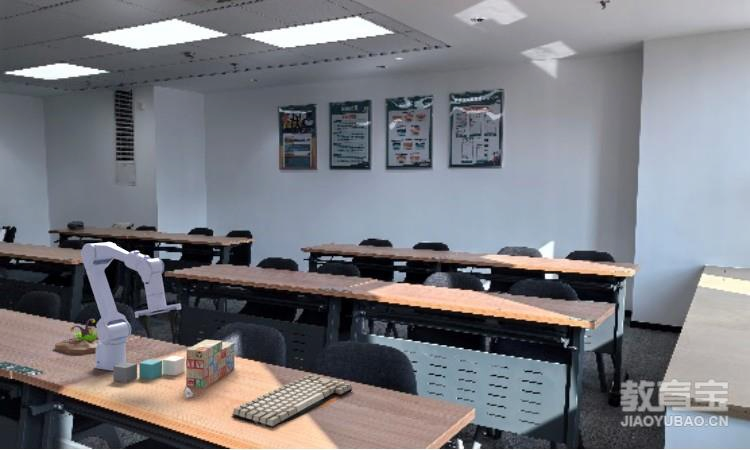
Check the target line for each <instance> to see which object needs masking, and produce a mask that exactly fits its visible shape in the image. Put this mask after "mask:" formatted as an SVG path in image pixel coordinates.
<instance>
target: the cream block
mask: <svg viewBox="0 0 750 450" xmlns="http://www.w3.org/2000/svg"><path fill="white" fill-rule="evenodd" d="M185 357H186V356H185ZM185 357H183V356H176V355H171V356H168V357H166V358H164V359H162V375H167V374H168V376H173V375H176V376H178V375H180V374H182V373H184V372H185V371H186V370H185V369H186V368H185V367H186V364H185V363H186V358H185Z"/></svg>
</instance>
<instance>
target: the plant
mask: <svg viewBox="0 0 750 450" xmlns="http://www.w3.org/2000/svg"><path fill="white" fill-rule="evenodd" d="M89 322H91V323H92V324H94V323H95V322H96V320H95V318H89V319H88V320H87V321H86V323H85V327H84V328H83V327H82V326H80V325H74V326H71V327H70V329H69V331H70V332H73V331H74V330H75V328H79V330H80V331H78V333H77V332H73V333H72V334H73V335H74V337H73V338H69V339H65V340H62V341H60V342H56V343H55V344H54V350H55V351H57V352H61V353H65V354H67V355H71V356H72V355H74V356H76V355H77V356H78V355H81V356H84V355H87V354H94V353H95V354H96V346H97V344H98V343H99V342H100V340H99V339H98V336H97V332H95V330H94V329H93V327H91V326H90V327H89Z"/></svg>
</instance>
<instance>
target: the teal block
mask: <svg viewBox="0 0 750 450" xmlns="http://www.w3.org/2000/svg"><path fill="white" fill-rule="evenodd" d="M138 365H139V366H138V367H139V370H138V371H139V373H138V375H139V377H140V378H141V379H146V380H153V379H155V378H158V376H159V377H162V375H163V359H162V360H161V359H152V358H148V359H146V360H143V361H141V362H139V363H138Z"/></svg>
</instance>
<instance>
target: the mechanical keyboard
mask: <svg viewBox="0 0 750 450" xmlns="http://www.w3.org/2000/svg"><path fill="white" fill-rule="evenodd" d="M352 390H353V386H352V383H345V382H344V381H341V382H339V381H338V380H332V379H329V378H325V377H320V375H316V374H315V375H314V374H311V373H309V374H307V375H305V376H303V377H300V378H298V379H295V380H293V381H291V382H288V383H287V384H284V385H283V386H280V387H278V388H276V389H273V391H272V390H270V391H269V392H267V393H264V394H262V395H261V396H260V395H259V396H258V397H257V398H253V399H251V401H247V402H245V403H242V404H240V405H239V406H236V407H234V408H233V411H232V413H231V418H232V419H236V420H239V421H242V422H247V423H249V424H254V425H258V426H263V427H268V428H274V427H276V426H279V425H283V424H285V423H288V422H289V423H290V422H292V421H293V420H296V419H297V418H300V417H301V416H304V415H306V414H307V413H310V412H312V411H314V410H315V409H319V408H323V407H326V406H328V405H330V404H332V403H334V402H336V401H338V400H340V399H341V398H343V397H346V396H347V395H349V394H351V393H352V392H353V391H352ZM351 391H352V392H351ZM350 392H351V393H350ZM348 393H349V394H348Z"/></svg>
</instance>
